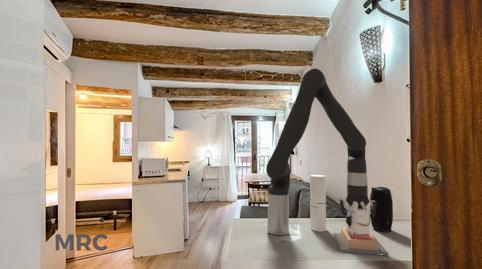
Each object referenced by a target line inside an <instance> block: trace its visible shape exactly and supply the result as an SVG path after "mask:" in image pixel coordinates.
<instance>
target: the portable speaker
mask: <svg viewBox="0 0 482 269" xmlns="http://www.w3.org/2000/svg"><path fill="white" fill-rule="evenodd" d="M369 200H374V201H376V202H377V206H376V213H375V216H374V217H370V222H371V223H370V224H371V226H372V227H371V228H373V230H374V231H376V232H380V233H383V232H384V231H388V232H389V233H390V232H392V227H393V220H394V210H393V209H394V208H393V207H394V206H393V205H394V204H393V197H392V191H391V189H390V188H388V187H386V186H385V187H384V186H378V187H371V191H370V196H369ZM370 210H371V205H370V204H369V211H370Z"/></svg>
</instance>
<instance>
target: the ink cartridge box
mask: <svg viewBox="0 0 482 269" xmlns="http://www.w3.org/2000/svg"><path fill="white" fill-rule="evenodd" d="M353 202H354V206H353V211H352V213H351V215H350V218H351V226H348V224H347V223H346V226H347V227H346V228H347V233H348V234H349V236H351V237H352V238H354V239H363V240H370V233H371V231H370V226H369V213H370V209H369V210H368V209H367V210H365V209H358V203H357V202H355V201H353ZM346 205H347V206H346V210H347V209H348V207H350V206H349V204H348V203H347V202H346Z"/></svg>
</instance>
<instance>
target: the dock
mask: <svg viewBox="0 0 482 269" xmlns="http://www.w3.org/2000/svg"><path fill="white" fill-rule="evenodd" d="M333 237H334V239H335V241H336V244H337V247H338V248H339V251H340V253H349V254H350V253H352V254H363V255H370V254H383V255H389V254H390V253H389V252H388V251H387V250H386V248H385V247H384V246H383V245H382V244H381V243H380V242H379V240H378V239H377V238H376V237H375V236H374V235H373V234H372V233H371V232H370V240H363V239H354V238H352V237H351V236H349V234H348V233H347V227H340V232H333ZM389 256H390V255H389Z"/></svg>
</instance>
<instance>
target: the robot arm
mask: <svg viewBox="0 0 482 269" xmlns="http://www.w3.org/2000/svg"><path fill="white" fill-rule="evenodd" d="M315 98H316V100H317V101H318V103H320V105H321V107H322V108H323V110H324V112H325V113H326V115H327V117H328V118H329V119H328V120H330V122H331V123H332V125H333V126H334V128H335V130H336V131H337V132H338V133H339V134H340V135H341V138H342V139H343V141H344V143H345V144H346V147H347V164H346V167H347V168H346V169H347V172H346V173H347V174H346V197H345V198H339V199H338V203H339V207H340V213H341V215H344V216H345V223H346V225H347V224H348V226H351V218H350V215H351V213H352V211H353V206H354V202H353V201H355V202H357V203H358V209H365V210H368V209H367V206H368V205H369V206H370V205H371V210H370V209H369V227H370V226H371V225H370V224H371V223H370V222H371V218H370V217H374V216H375V213H376V206H377V202H376V201H374V200H370V198H369V197H368V196H369V194H368V192H369V190H368V189H369V188H368V172H367V161H366V146H367V139H366V137H365V136H364V135H363V133H362V132H361V131H360V130H359V129H358V127H357V126H356V124H354V121H353V120H352V118H351V117H350V115H349V114H348V113H347V110H345V108H344V107H343V106H342V105H341V104H340V103H339V101H338V100H337V99H336V97H335V96H334V94H333V93H332V91H331V90H330V88H329V84H328V83H327V79H326V76H325V74H324V73H323V71H322V70H320V69H319V68H314V67H313V68H310V69H308V70H307V71H306V72H305V73H304V74H303V76H302V79H301V82H300V86H299V89H298V92H297V95H296V97H295V100H294V103H293V105H292V107H291V109H290V112H289V114H288V115H287V118H286V120H285V122H284V125H283V128H282V131H281V133H280V136H279V138H278V140H277V145H276V147H275V148H274V151H273V153H272V155H271V156H270V158H269V160H268V162H267V164H266V169H265V172H266V174H267V176H268V177H269V178H270V183H269V186H268V189H267V190H268V195H267V198H268V199H267V200H268V202H267V234H271V235H275V236H285V235H288V234H289V232H290V230H289V229H290V221H289V220H290V218H289V217H290V216H289V215H290V209H289V208H290V206H289V204H290V200H289V198H290V197H289V196H290V195H289V192H290V188H291V166H290V163H289V160H290V157H291V155H292V152H293V151H294V150H295V148H296V147H297V145H298V144H299V143H300V141H301V139H302V137H303V136H304V134H305V131H306V130H307V126H308V124H309V120H310V116H311V112H312V105H313V103H314V101H315ZM347 203H348V204H349V206H350V207H348V209H347V208H346V211H345V205H346V204H347Z"/></svg>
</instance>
